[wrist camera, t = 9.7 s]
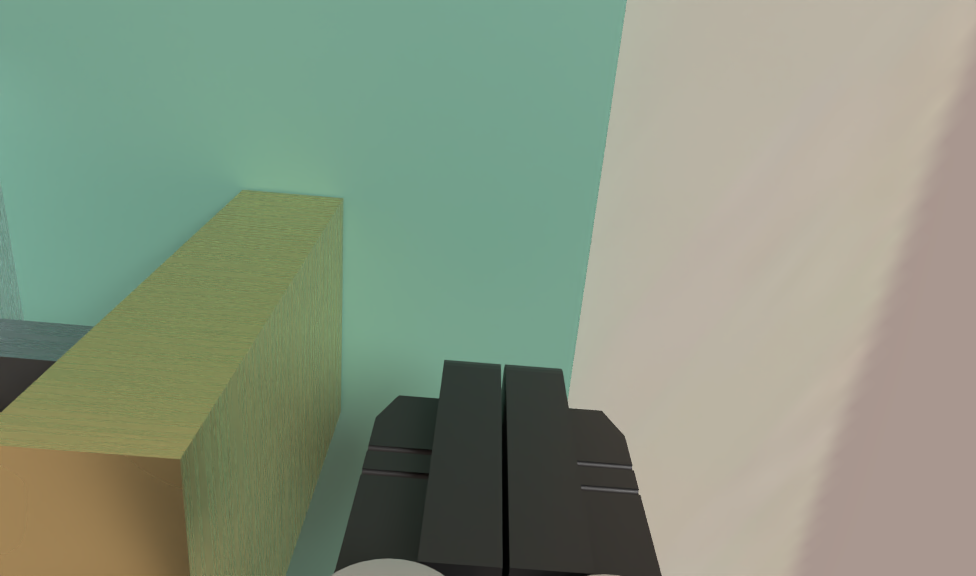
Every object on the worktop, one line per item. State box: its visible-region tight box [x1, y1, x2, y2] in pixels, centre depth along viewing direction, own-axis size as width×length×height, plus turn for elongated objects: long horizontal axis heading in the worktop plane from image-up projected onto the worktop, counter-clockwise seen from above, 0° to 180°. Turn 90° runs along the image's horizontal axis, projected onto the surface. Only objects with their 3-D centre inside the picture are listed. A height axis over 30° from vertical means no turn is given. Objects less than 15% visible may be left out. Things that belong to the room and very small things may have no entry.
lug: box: [0, 190, 344, 576], centre depth 10 cm, size 4×5×7 cm
